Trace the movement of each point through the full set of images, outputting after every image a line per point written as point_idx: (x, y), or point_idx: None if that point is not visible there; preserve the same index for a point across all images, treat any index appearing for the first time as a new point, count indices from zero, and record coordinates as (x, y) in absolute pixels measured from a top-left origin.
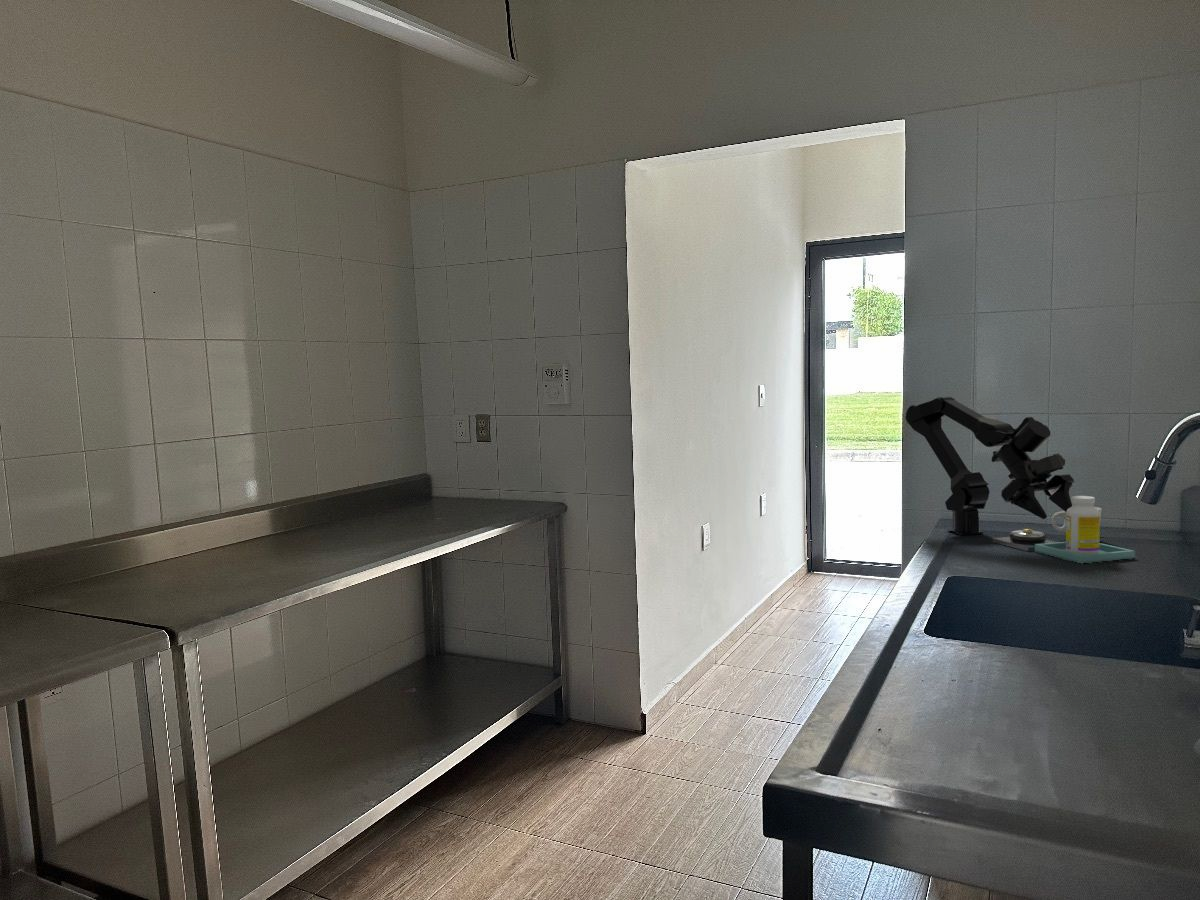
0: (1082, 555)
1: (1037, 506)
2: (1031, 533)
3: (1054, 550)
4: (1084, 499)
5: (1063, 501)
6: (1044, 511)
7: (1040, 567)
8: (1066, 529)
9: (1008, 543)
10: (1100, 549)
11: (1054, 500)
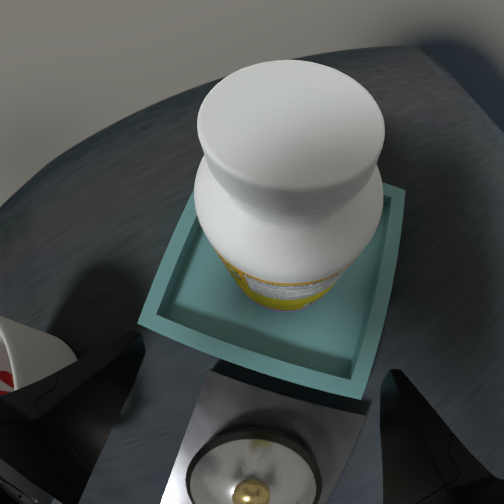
0: (398, 192)
1: (441, 424)
2: (253, 479)
3: (387, 301)
4: (354, 85)
5: (86, 413)
6: (399, 391)
7: (492, 250)
8: (338, 279)
9: (327, 498)
10: (188, 251)
11: (82, 474)
